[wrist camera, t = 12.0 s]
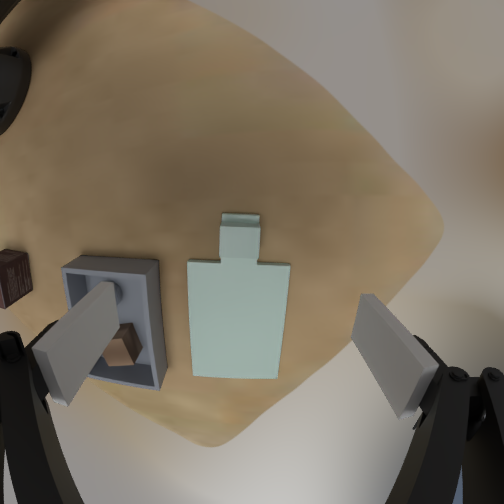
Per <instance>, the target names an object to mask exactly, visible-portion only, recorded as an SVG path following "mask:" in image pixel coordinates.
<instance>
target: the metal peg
mask: <svg viewBox="0 0 504 504" xmlns="http://www.w3.org/2000/svg"><path fill="white" fill-rule="evenodd" d="M106 282H113V281H106ZM113 283H114V291H115V299H116V306H117V305H118V304H119V303H120V302H121V300H122V298H123V292H122V289H121V288H120V286H119V285H118V284H117V283H115V282H113Z"/></svg>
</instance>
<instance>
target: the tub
mask: <svg viewBox="0 0 504 504" xmlns="http://www.w3.org/2000/svg"><path fill="white" fill-rule="evenodd" d="M61 270H62V277H63V283H64V289H65V294H66V300H67V305H68V310H70V309H71V308H72V307H74V306H75V305H76V304H77V303H78V302H79V301H80V300H81V299H82V298H83V297H84V296H85V295H87V294H88V293H89V292H90V291H91V290H92V289H93V288H94V287H95V286H96V285H98V284H99V283H100V282H101V281H104V282H106V281H113V282H115V283H117V284H118V285H119V286H120V288H121V289H122V292H123V298H122V300H121V302H120V303H119V304H118V305H117V313H118V319H119V324H124V323H133V325H134V328H135V330H136V333H137V335H138V337H139V340H140V342H141V344H142V347H143V348H142V350H141V352H140V354H139V356H138V358H137V360H136V362H135V364H134V365H124V366H108V364H107V362H106V360H105V358H104V356H103V354H101V356H100V357H99V359H98V360H97V362H96V363H95V365H94V366H93V368H92V369H91V371H90V373H89V374H88V376H87V377H90V378H94V379H98V380H103V381H107V382H112V383H117V384H122V385H127V386H133V387H139V388H145V389H151V390H158V391H160V389H161V386H162V383H163V380H164V377H165V374H166V371H167V368H168V367H167V359H166V351H165V341H164V332H163V321H162V309H161V294H160V277H159V260H149V259H132V258H116V257H101V256H86V255H81V256H79V257H77V258H76V259H74V260H72V261H71V262H69V263H68V264H66V265H64V266H63V267H61Z"/></svg>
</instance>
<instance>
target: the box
mask: <svg viewBox="0 0 504 504" xmlns="http://www.w3.org/2000/svg"><path fill="white" fill-rule="evenodd" d="M32 289H33V287H32V281H31V276H30V268H29V257H28V253H24V252H19V251H13V250H6V249H4V250H2V251H0V308H3V309H6V308H7V307H9V306H10V305H12V304H13V303H15V302H16V301H17V300H19V299H20V298H22V297H23V296H25V295H26V294H28V293H29V292H31V291H32Z"/></svg>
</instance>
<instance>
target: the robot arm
mask: <svg viewBox="0 0 504 504" xmlns="http://www.w3.org/2000/svg"><path fill="white" fill-rule="evenodd" d="M20 1H21V0H0V24H1V23H2V21H3V20H4V19H5V18H6V17H7V15H8V14H9V13H10V12H11V11H12V10H13V8H14V7H15V6H16V5H17V4H18V3H19V2H20ZM30 76H31V62H30V58H29V55H28V54H27V53H26V52H25V51H24V50H22V49H19V48H17V47H12V46H9V47H0V135H1V134H2V133H3V132H4V131H5V130H6V129H7V128H8V127H9V126H10V124H11V123H12V122H13V120H14V118H15V117H16V115H17V113H18V112H19V110H20V108H21V105H22V103H23V101H24V98H25V96H26V93H27V89H28V86H29V82H30ZM119 328H120V325H119V319H118V313H117V306H116V299H115V291H114V283H113V282H104V281H101V282H100V283H99V284H98V285H96V286H95V287H94V288H93V289H92V290H91V291H90V292H89V293H88V294H87V295H85V296H84V297H83V298H82V299H81V300H80V301H79V302H78V303H77V304H76V305H75V306H74V307H72V308H71V309H70V310H69V311H68V312H67V313H66V314H65V315H64V316H63V317H62V318H61V319H60V320H56V321H54V322H53V323H51V324H49V325H48V326H47V327H46V328H44V329H43V332H42V331H41V332H40V333H39V334H38V336H36V337H35V338H34V339H33V340H32V341H31V342H30V343H29V344H28V345H27V346H26V347H25V348H24V345H23V342H22V339H21V337H20V334H19V333H18V332H15V331H7V332H4V333H1V334H0V504H4V493H3V477H4V475H3V474H4V455H5V450H6V456H7V461H8V466H9V471H10V475H11V480H12V484H13V488H14V492H15V495H16V499H17V502H18V504H84V502H83V500H82V498H81V496H80V494H79V492H78V489H77V487H76V485H75V483H74V480H73V478H72V476H71V473H70V471H69V468H68V466H67V463H66V460H65V458H64V455H63V452H62V449H61V447H60V444H59V441H58V437H57V434H56V431H55V428H54V424H53V421H52V417H51V414H50V409H49V406H48V403H47V400H46V398H45V397H46V395H47V394H48V393H50V395H51V397H52V399H53V401H54V402H55V403H58V404H62V405H65V406H67V407H68V406H69V404H70V403H71V401H72V400H73V398H74V396H75V395H76V393H77V392H78V390H79V388H80V387H81V385H82V384H83V382H84V380H85V379H86V377H87V376H88V374H89V373H90V371H91V369H92V368H93V366H94V365H95V363H96V362H97V360H98V359H99V357H100V356H101V354H102V353H103V351H104V350H105V348H106V347H107V345H108V344H109V342H110V341H111V339H112V338H113V336H114V335H115V334H116V332H117V331H118V329H119ZM351 338H352V340H353V342H354V343H355V345H356V347H357V348H358V350H359V352H360V353H361V355H362V356H363V358H364V360H365V362H366V363H367V365H368V367H369V368H370V370H371V372H372V373H373V375H374V377H375V379H376V381H377V382H378V384H379V386H380V387H381V389H382V391H383V393H384V394H385V396H386V398H387V400H388V401H389V403H390V405H391V407H392V409H393V410H394V412H395V414H396V416H397V418H398V419H403V418H407V417H411V416H413V415H414V414H415V412H416V410H417V408H418V407H419V406H420V408H421V409H422V411H423V412H422V414H421V416H420V417H419V419H418V421H417V422H416V424H415V425H414V427H413V430H414V429H415V428H416V430H415V433H414V436H413V439H412V442H411V444H410V447H409V450H408V453H407V455H406V458H405V460H404V463H403V465H402V468H401V470H400V473H399V475H398V477H397V479H396V482H395V484H394V486H393V489H392V491H391V493H390V495H389V497H388V499H387V501H386V503H385V504H452V503H453V499H454V496H455V492H456V488H457V484H458V479H459V475H460V470H461V465H462V478H463V504H504V375H503V373H502V372H500V370H498V369H496V368H492V367H487V368H485V369H484V370H483V371H482V374H481V375H480V377H469V375H468V374H467V372H466V371H464V370H463V369H461V368H458V367H447V365H446V364H445V363H444V362H443V361H442V360H441V359H440V358H439V356H438V355H437V354H436V353H435V352H434V351H433V350H432V349H431V348H430V347H429V346H428V344H427V343H426V342H425V341H424V340H423V339H420V338H419V337H417V336H416V335H412V334H411V333H410V332H409V331H408V330H407V329H406V327H405V326H404V325H403V324H402V323H401V322H400V321H399V320H398V319H397V318H396V317H395V316H394V315H393V314H392V313H391V312H390V311H389V309H388V308H387V307H386V306H385V305H384V304H383V303H382V302H381V301H380V300H379V299H378V298H377V297H376V296H375V295H374V294H361V296H360V301H359V306H358V310H357V315H356V319H355V323H354V327H353V331H352V335H351ZM485 414H486V417H485V418H484V415H485Z"/></svg>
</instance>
